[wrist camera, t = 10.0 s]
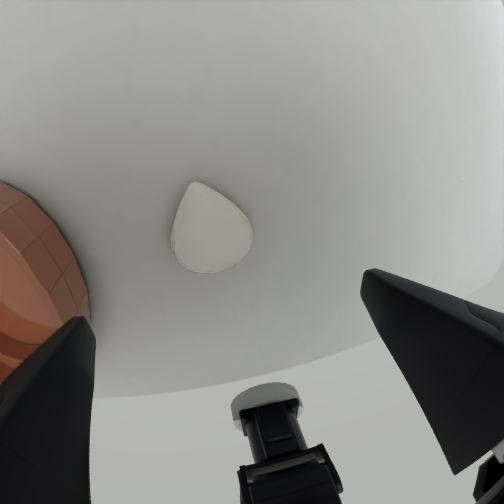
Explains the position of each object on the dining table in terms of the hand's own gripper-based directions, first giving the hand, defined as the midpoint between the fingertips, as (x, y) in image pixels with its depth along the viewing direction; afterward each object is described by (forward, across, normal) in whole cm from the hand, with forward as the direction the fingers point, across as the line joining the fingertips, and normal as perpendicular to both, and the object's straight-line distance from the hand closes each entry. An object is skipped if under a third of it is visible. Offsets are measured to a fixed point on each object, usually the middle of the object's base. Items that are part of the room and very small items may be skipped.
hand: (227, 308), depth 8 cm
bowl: (+8, +16, +2) cm, 18 cm away
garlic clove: (+8, 0, 0) cm, 8 cm away
